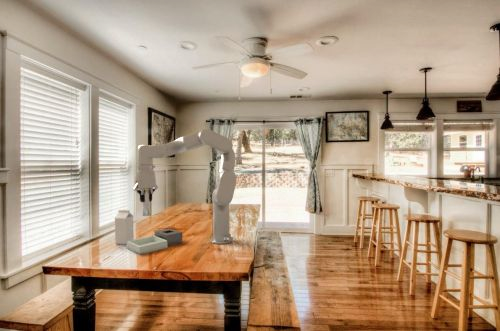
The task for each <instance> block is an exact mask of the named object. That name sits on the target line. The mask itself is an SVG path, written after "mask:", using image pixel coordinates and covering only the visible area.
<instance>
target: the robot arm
mask: <svg viewBox="0 0 500 331" xmlns="http://www.w3.org/2000/svg"><path fill="white" fill-rule="evenodd" d="M204 146H208V147H210V148H213V149H214V150H216V151H217V152H218V153H219V155H220V165H219V168H218V169H219V170H218V174H217V176H216V178H217V182H218V185H217V187H216V188H215V189H214V190H213V191H212V196H211V200H212V226H213V227H212V232H213V233H212V235H213V236H212V237H211V238H210V243H212V244H214V245H215V244H216V245H217V244H218V245H224V244H230V243H231V242H233V239H234V237H233V236H232V235H231V233H230V204H231V203H232V201H233V199H234V198H233V197H234V194H235V190H236V185H237V175H236V173H235V166H236V159H237V158H236V153H235V151H234V148H233V142H232V140H231V139H230V138H229V137H227V136H224V135H222V134H220V133H218V132H216V131H215V130H212V129H209V128H204V129H202V130H199V131H197V132H193V133H190V134H187V135H183V136H180V137H179V138H177V139H175V140H173V141H170V142H167V143H163V144H154V145H150V144H149V145H148V144H140V145H138V147H137V170H136V172H135V177H134V179H135V180H134V187H133V189H132V190H133V191H135V192H136V193H137V194H138V195H139V201H140V202H141V203H143V202H144V195H143V192H144V189H147V188H148V189H149V195H150V202H152V201H153V194H154V192H155V191H157V189H159V186H158V185H157V181H156V174H155V170H154V169H155V168H156V166H155V165H154V163H153V162H154V159H164V158H167V157H170V156H174V155H176V154H182V153H185V152H189V151H191V150H195V149H198V148H201V147H204Z"/></svg>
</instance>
